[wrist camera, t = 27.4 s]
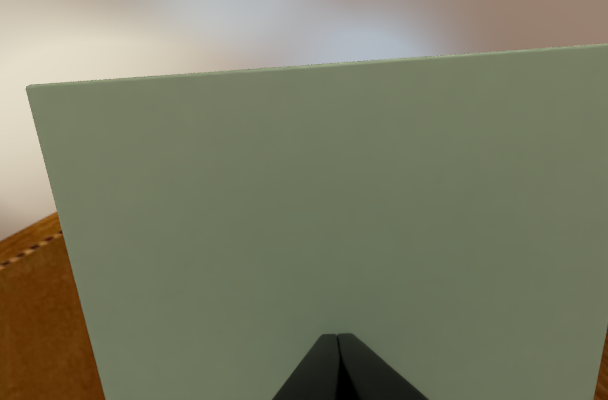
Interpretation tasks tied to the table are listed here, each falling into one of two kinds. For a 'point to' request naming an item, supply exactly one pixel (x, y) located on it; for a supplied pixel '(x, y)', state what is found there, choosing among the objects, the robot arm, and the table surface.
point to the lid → (340, 221)
